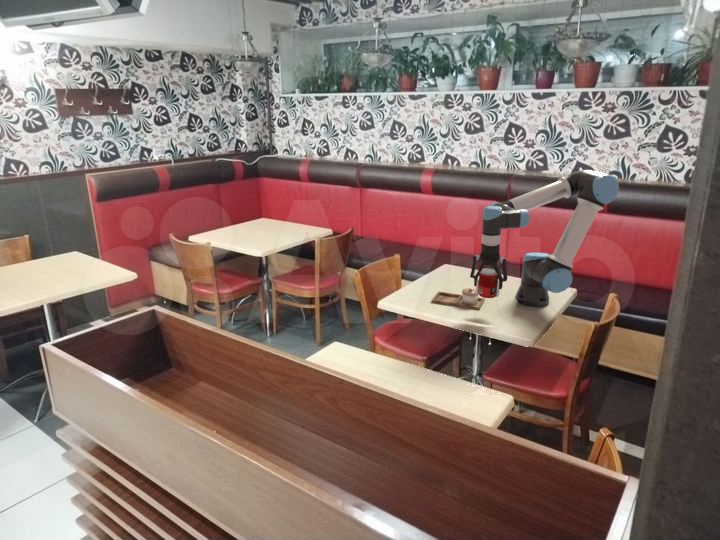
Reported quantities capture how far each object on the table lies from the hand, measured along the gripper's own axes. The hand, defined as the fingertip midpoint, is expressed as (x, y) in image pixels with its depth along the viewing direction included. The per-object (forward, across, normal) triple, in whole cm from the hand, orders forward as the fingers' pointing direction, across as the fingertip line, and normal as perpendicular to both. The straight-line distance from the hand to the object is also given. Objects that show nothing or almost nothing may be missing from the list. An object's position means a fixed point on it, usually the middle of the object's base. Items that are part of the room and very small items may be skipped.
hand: (487, 294), depth 230 cm
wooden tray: (+10, +15, -10) cm, 21 cm away
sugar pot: (+9, +10, -10) cm, 17 cm away
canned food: (+1, 0, 0) cm, 1 cm away
